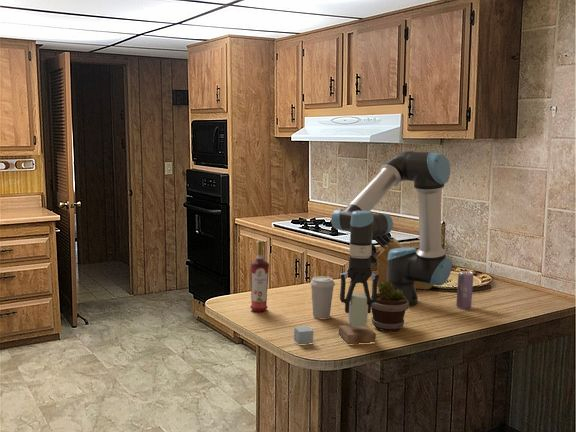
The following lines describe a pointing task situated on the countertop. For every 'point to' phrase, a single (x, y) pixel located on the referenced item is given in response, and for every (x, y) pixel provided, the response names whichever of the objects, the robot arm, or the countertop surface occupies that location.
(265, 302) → the liquor
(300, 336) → the blue-grey cube
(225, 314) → the countertop surface
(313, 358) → the countertop surface
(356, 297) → the sage block
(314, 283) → the coffee cup
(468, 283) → the beverage can
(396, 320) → the flowerpot
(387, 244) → the knife block
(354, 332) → the walnut block
